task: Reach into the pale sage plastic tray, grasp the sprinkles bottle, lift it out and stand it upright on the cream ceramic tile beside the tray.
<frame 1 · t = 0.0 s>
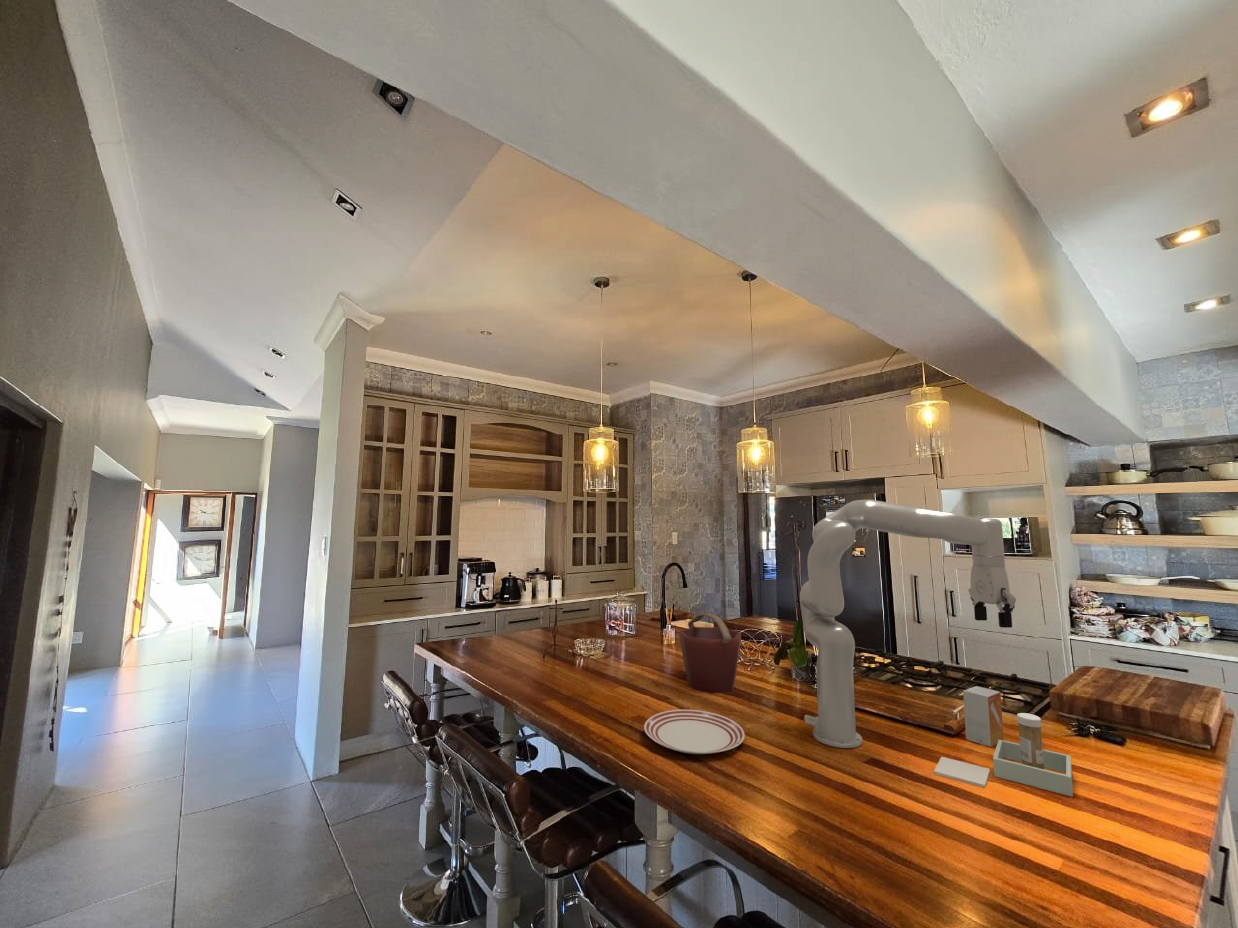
hand: (993, 623, 145), 31 cm above the kitchen island, tool pointing down, fingers open, 9 cm apart
dinner plate: (693, 740, 142), on the kitchen island
small box: (985, 740, 142), on the kitchen island
bucket: (712, 685, 189), on the kitchen island
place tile: (962, 772, 124), on the kitchen island
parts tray: (1033, 774, 123), on the kitchen island
sprinkles bottle: (1033, 775, 123), resting in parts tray
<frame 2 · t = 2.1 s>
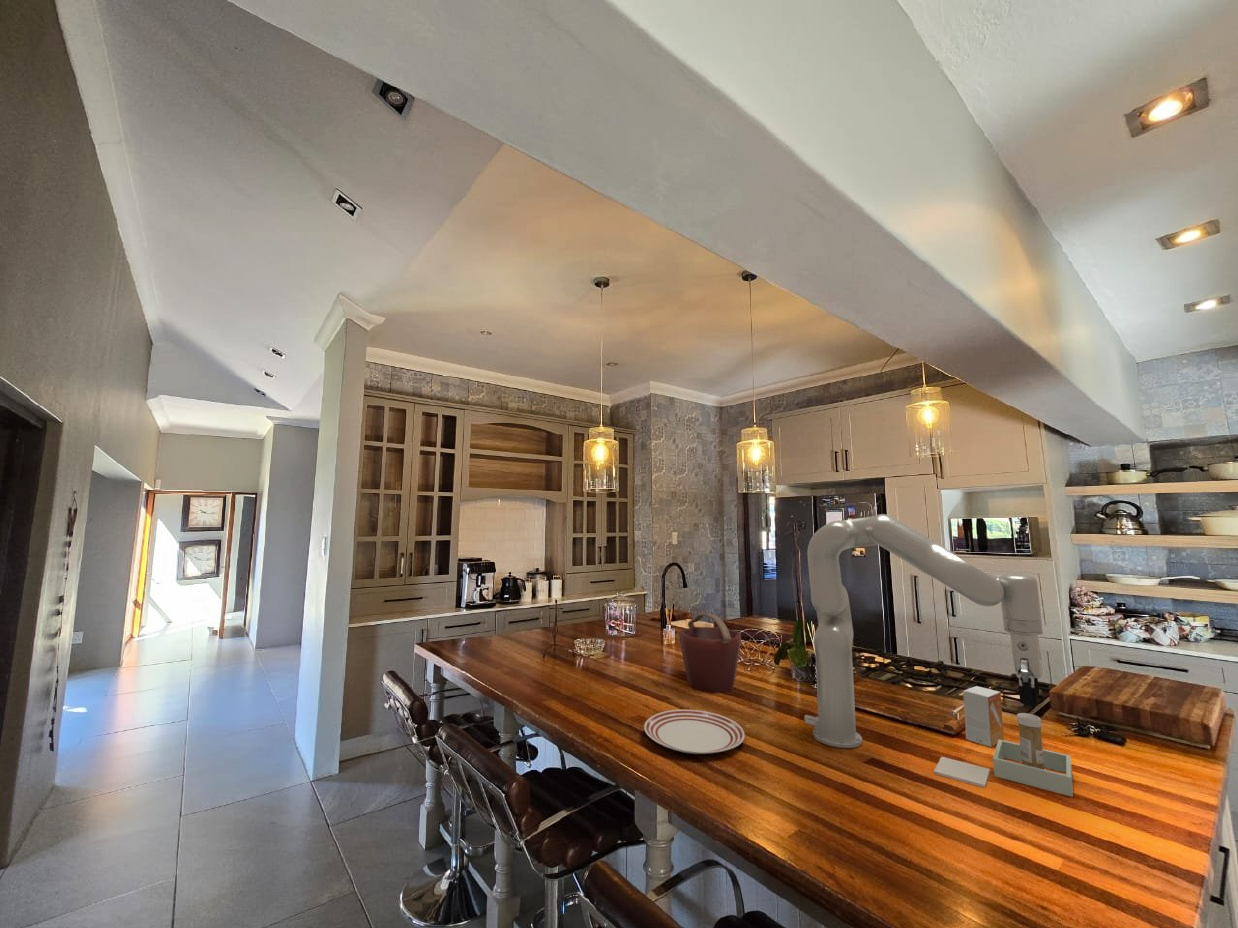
hand: (1030, 698, 124), 17 cm above the kitchen island, tool pointing down, fingers open, 9 cm apart
nothing on the kitchen island moved.
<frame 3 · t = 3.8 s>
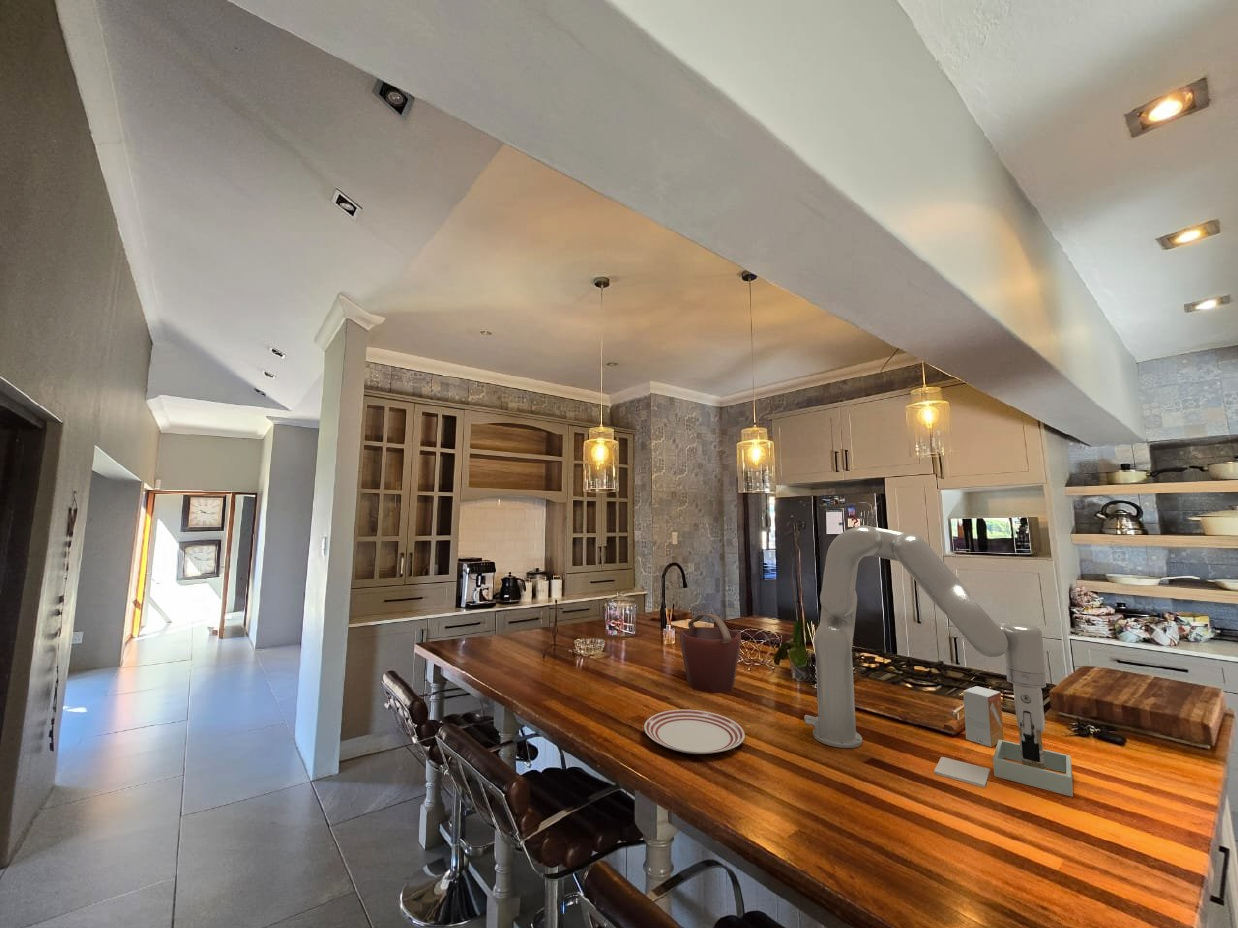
hand: (1031, 755, 123), 4 cm above the kitchen island, tool pointing down, fingers closed on sprinkles bottle, 4 cm apart
sprinkles bottle: (1033, 775, 123), resting in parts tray, touching gripper
everything else where it was.
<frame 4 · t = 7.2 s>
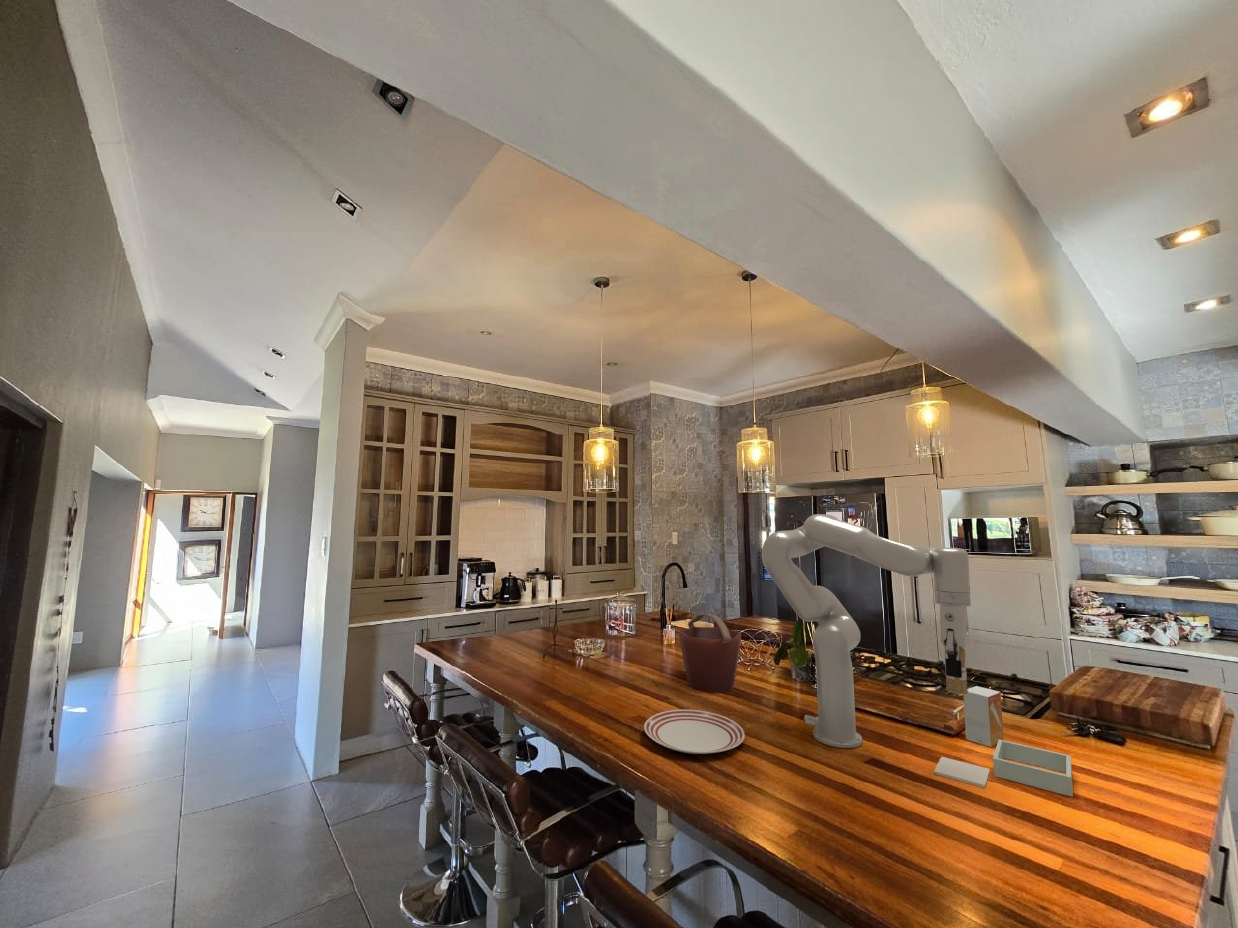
hand: (955, 673, 126), 23 cm above the kitchen island, tool pointing down, fingers closed on sprinkles bottle, 4 cm apart
sprinkles bottle: (956, 692, 126), point 18 cm above the kitchen island, touching gripper
everything else where it was.
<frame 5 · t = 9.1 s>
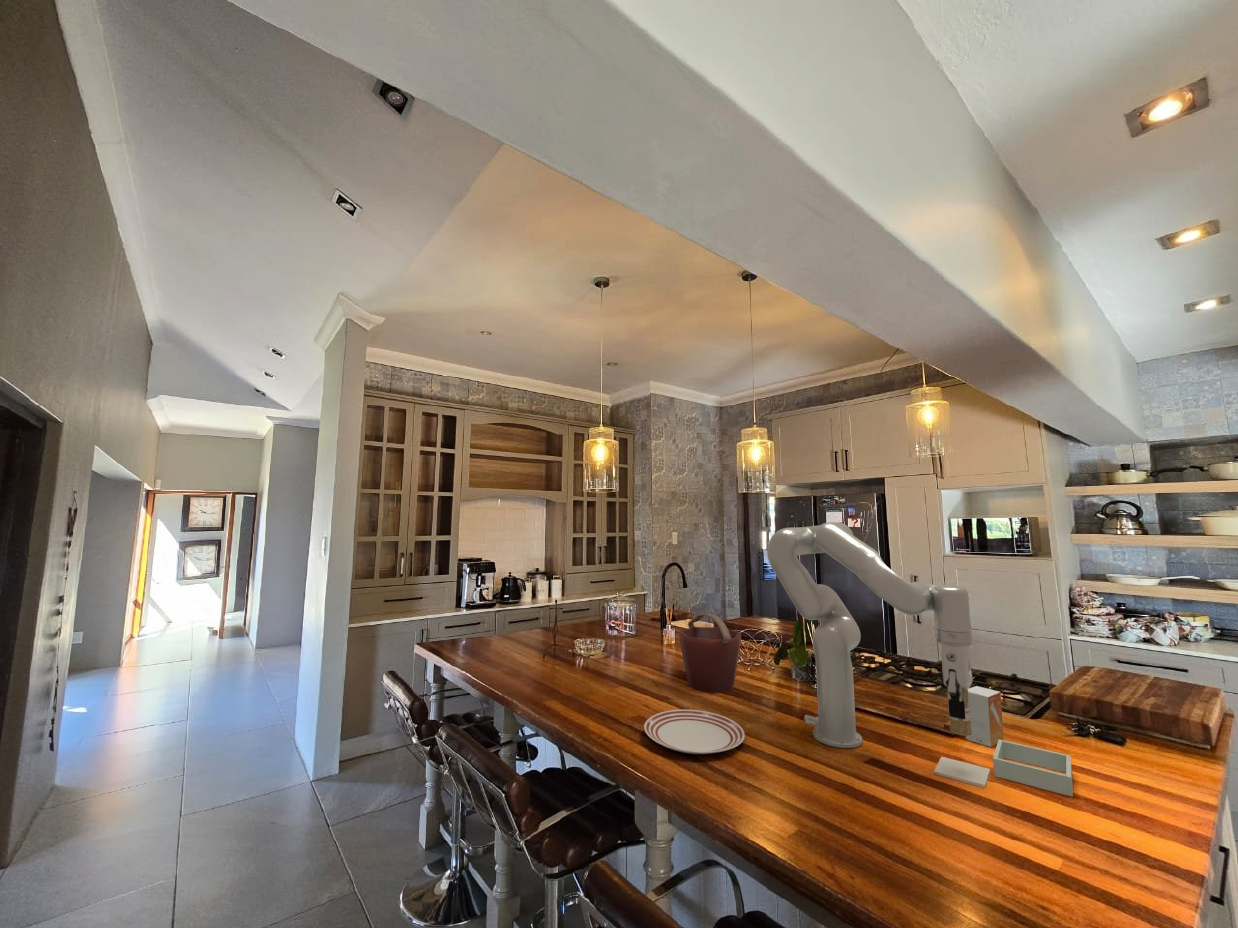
hand: (959, 713, 125), 14 cm above the kitchen island, tool pointing down, fingers closed on sprinkles bottle, 4 cm apart
sprinkles bottle: (960, 733, 125), point 9 cm above the kitchen island, touching gripper
everything else where it was.
when the fingers open (6 cm above the kitchen island, at t = 10.8 s): sprinkles bottle drops 1 cm, resting on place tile.
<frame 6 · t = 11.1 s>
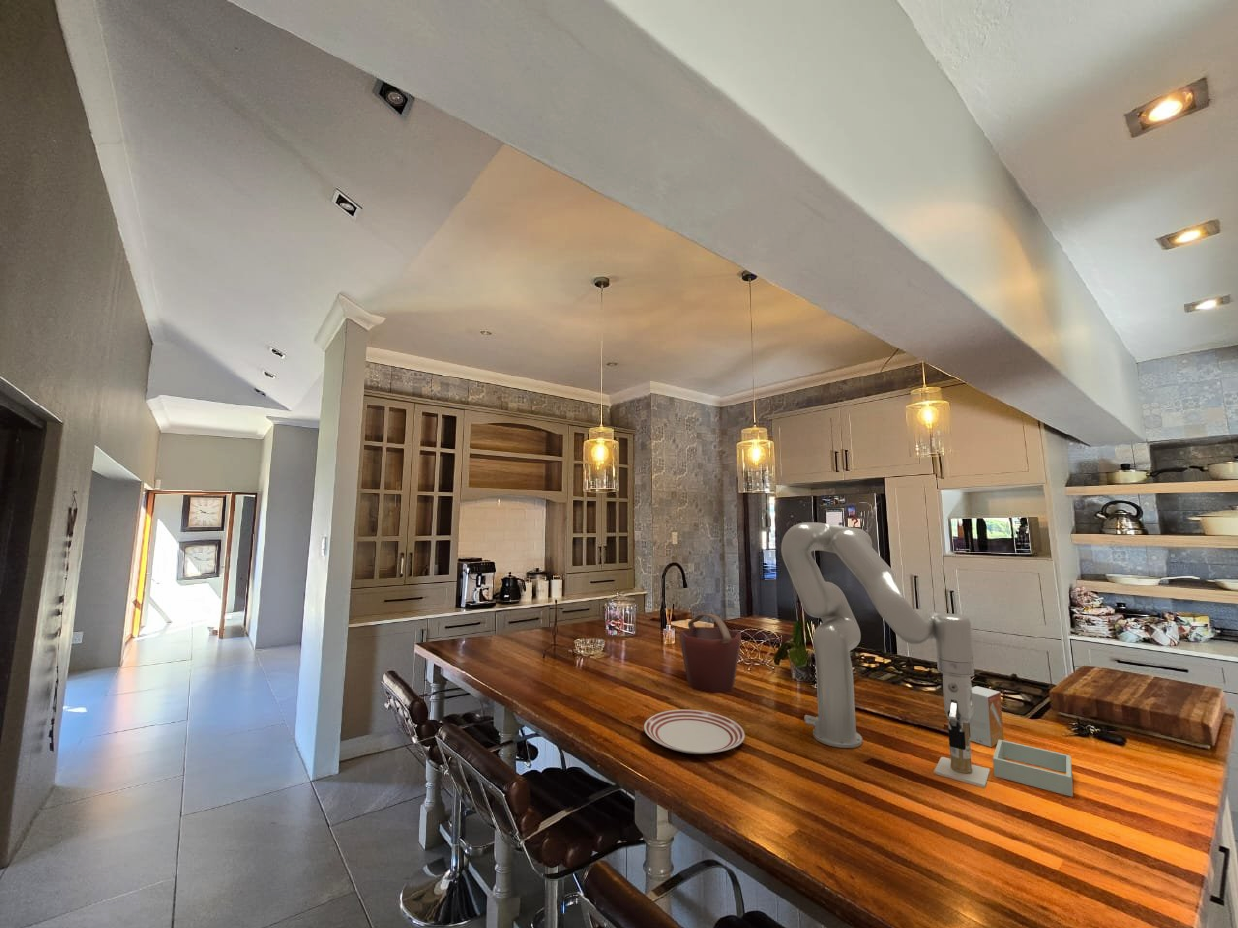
hand: (960, 741, 124), 7 cm above the kitchen island, tool pointing down, fingers open, 7 cm apart
sprinkles bottle: (961, 770, 124), resting on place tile
everything else where it was.
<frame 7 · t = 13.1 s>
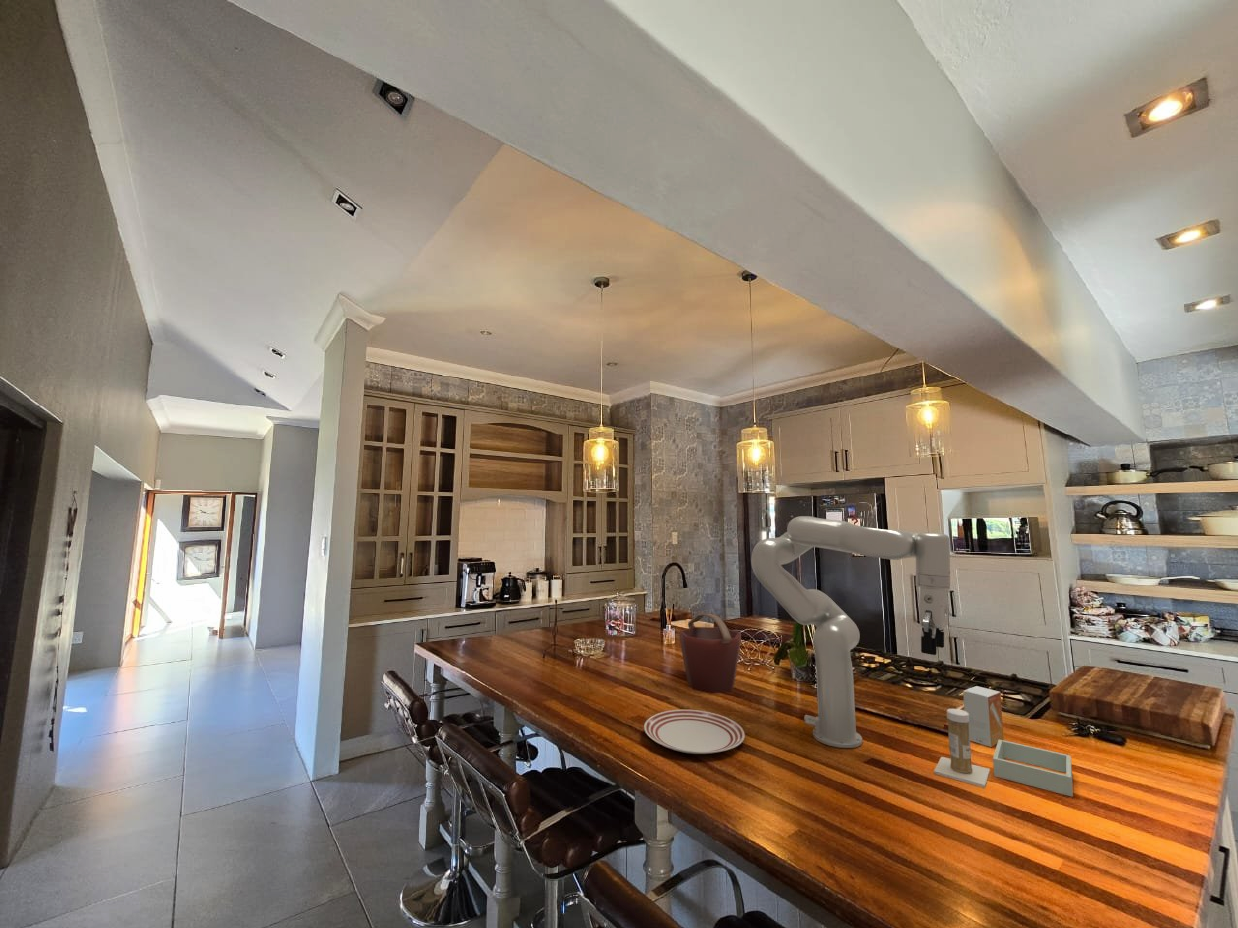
hand: (932, 650, 130), 28 cm above the kitchen island, tool pointing down, fingers open, 9 cm apart
nothing on the kitchen island moved.
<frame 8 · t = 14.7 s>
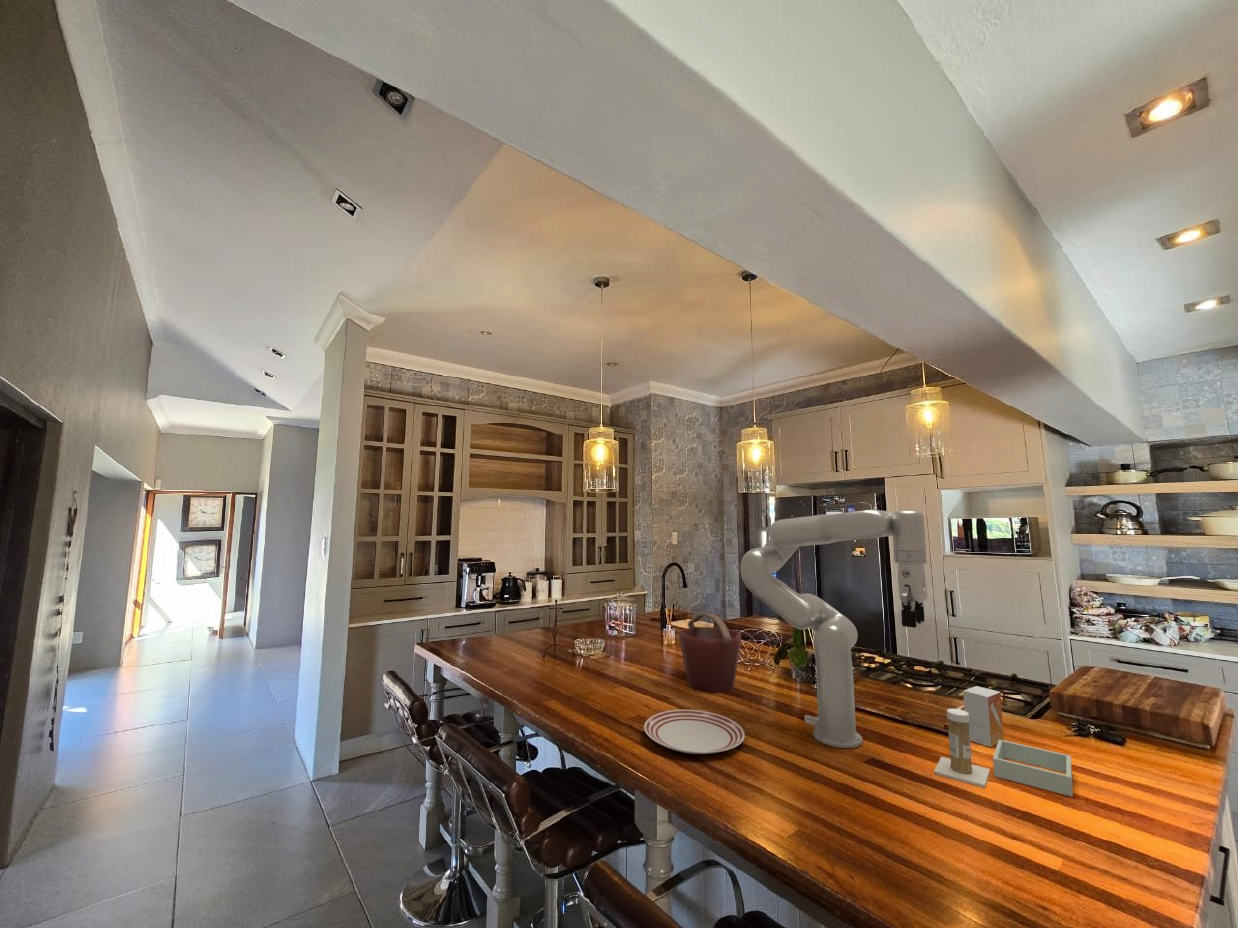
hand: (913, 623, 135), 33 cm above the kitchen island, tool pointing down, fingers open, 9 cm apart
nothing on the kitchen island moved.
at the end: sprinkles bottle 0.2 cm off-centre on the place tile, point 0.4 cm above the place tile's base; sprinkles bottle tilted 0°; the gripper is holding nothing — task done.
